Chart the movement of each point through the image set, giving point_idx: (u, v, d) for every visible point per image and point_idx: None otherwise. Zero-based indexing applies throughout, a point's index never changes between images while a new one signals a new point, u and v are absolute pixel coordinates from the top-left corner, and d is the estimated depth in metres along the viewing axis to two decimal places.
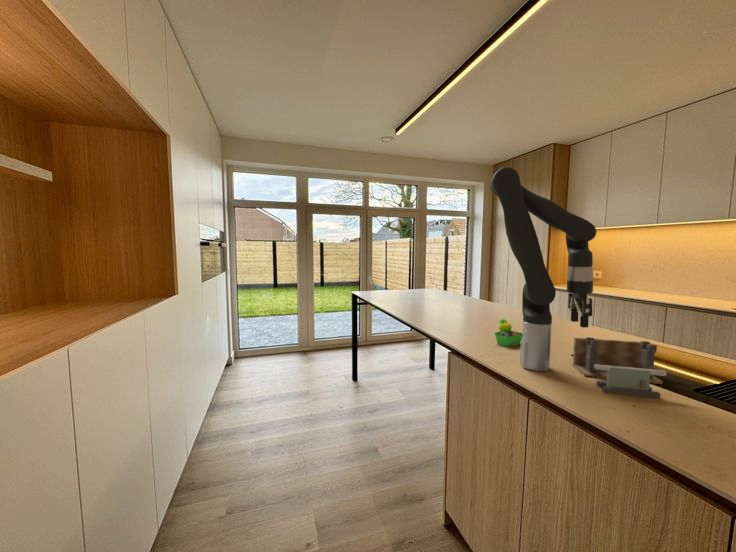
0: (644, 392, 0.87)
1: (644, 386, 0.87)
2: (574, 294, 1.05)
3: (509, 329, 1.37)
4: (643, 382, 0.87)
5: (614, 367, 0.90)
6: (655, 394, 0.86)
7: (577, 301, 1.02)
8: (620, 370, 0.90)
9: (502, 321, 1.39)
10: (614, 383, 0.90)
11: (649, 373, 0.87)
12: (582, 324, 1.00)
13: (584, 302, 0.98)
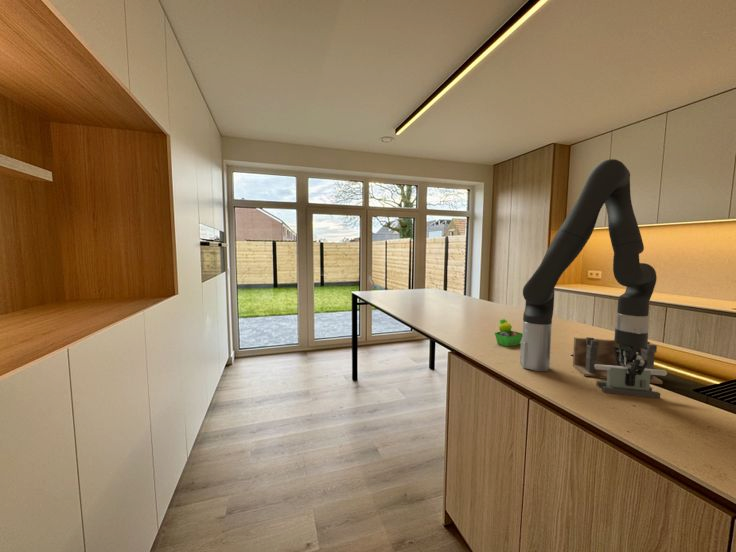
0: (644, 392, 0.87)
1: (644, 386, 0.87)
2: (623, 345, 0.91)
3: (509, 329, 1.37)
4: (643, 382, 0.87)
5: (614, 367, 0.90)
6: (655, 394, 0.86)
7: (627, 356, 0.88)
8: (620, 370, 0.89)
9: (502, 321, 1.39)
10: (614, 383, 0.90)
11: (650, 373, 0.87)
12: (628, 382, 0.88)
13: (636, 364, 0.84)
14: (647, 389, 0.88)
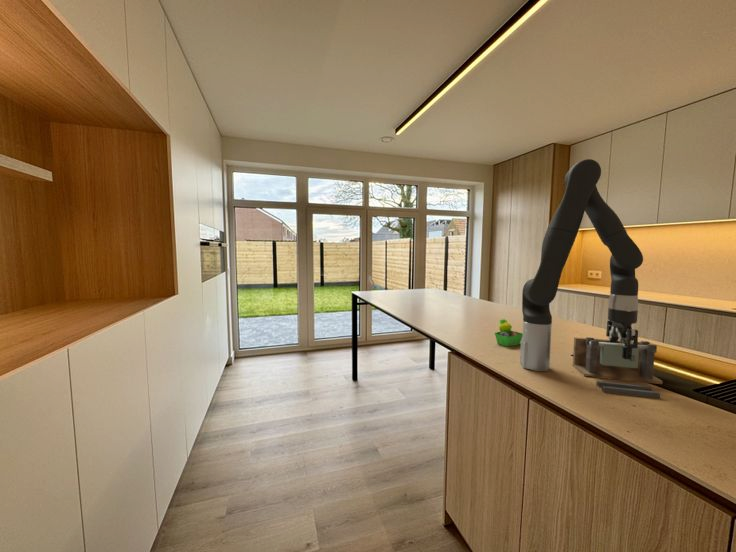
0: (644, 392, 0.87)
1: (633, 360, 0.98)
2: (615, 323, 1.01)
3: (509, 329, 1.37)
4: (633, 356, 0.98)
5: (607, 343, 1.01)
6: (655, 394, 0.86)
7: (620, 331, 0.97)
8: (612, 346, 1.00)
9: (502, 321, 1.39)
10: (607, 358, 1.01)
11: (638, 348, 0.98)
12: (625, 356, 0.95)
13: (629, 333, 0.93)
14: (636, 363, 0.98)
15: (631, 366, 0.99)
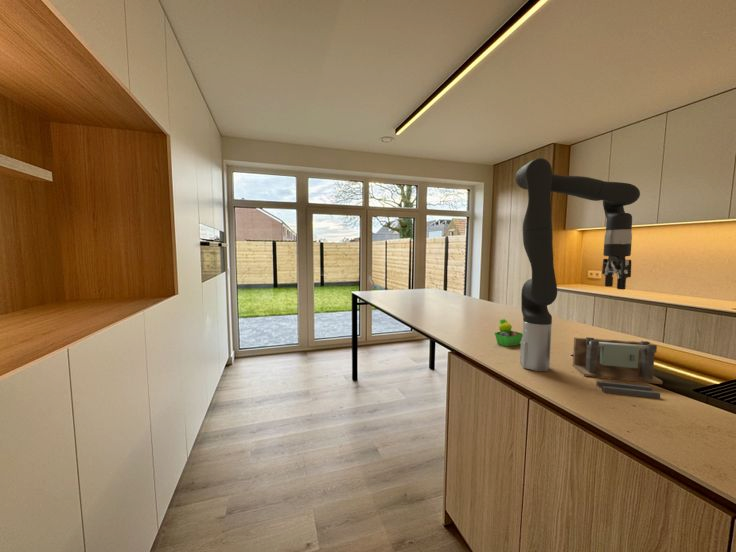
0: (644, 392, 0.87)
1: (633, 360, 0.98)
2: (610, 258, 1.07)
3: (509, 329, 1.37)
4: (633, 356, 0.98)
5: (607, 343, 1.01)
6: (655, 394, 0.86)
7: (614, 264, 1.03)
8: (612, 346, 1.00)
9: (502, 321, 1.39)
10: (607, 358, 1.01)
11: (638, 348, 0.98)
12: (619, 286, 1.01)
13: (623, 263, 0.99)
14: (636, 363, 0.98)
15: (631, 366, 0.99)
